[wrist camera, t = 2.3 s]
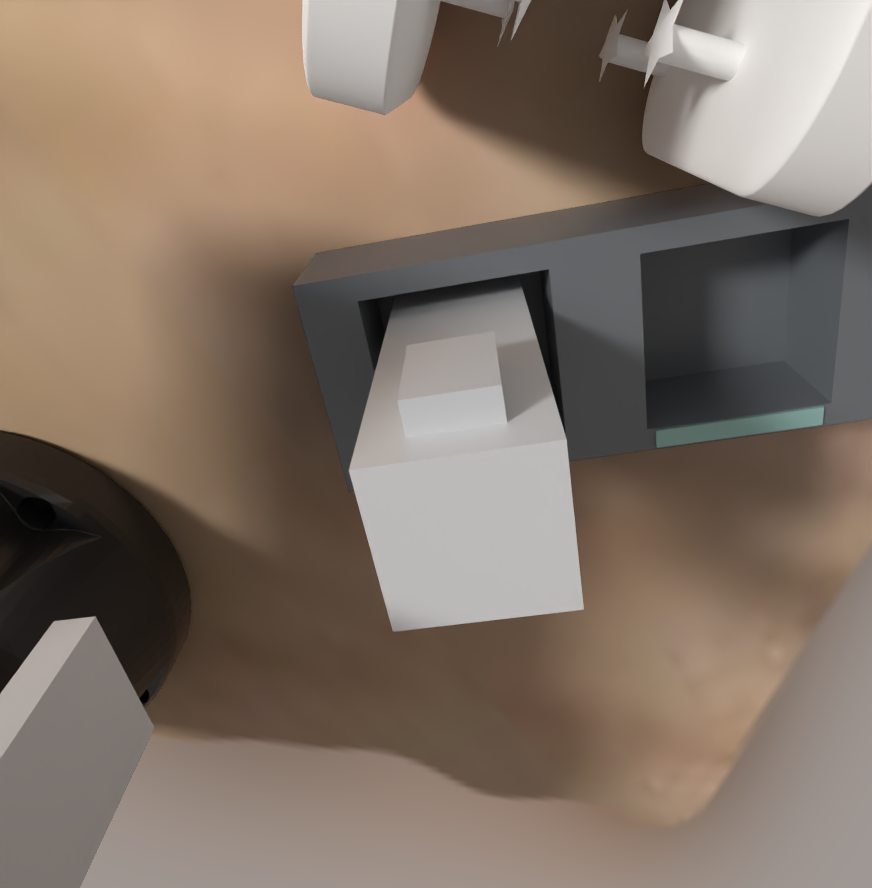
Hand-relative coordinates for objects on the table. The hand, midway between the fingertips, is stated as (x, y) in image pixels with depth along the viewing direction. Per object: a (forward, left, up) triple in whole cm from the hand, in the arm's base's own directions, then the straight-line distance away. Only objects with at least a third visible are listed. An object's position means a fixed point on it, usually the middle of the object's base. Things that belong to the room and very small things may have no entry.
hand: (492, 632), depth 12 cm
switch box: (+4, 0, -15) cm, 15 cm away
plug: (0, 0, -14) cm, 14 cm away
